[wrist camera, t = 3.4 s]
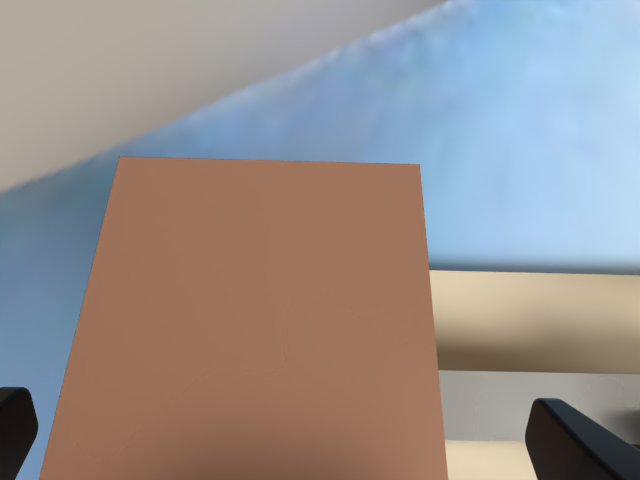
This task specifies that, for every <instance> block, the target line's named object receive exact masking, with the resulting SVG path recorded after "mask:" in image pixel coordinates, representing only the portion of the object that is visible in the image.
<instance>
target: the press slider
mask: <svg viewBox="0 0 640 480" xmlns="http://www.w3.org/2000/svg"><path fill="white" fill-rule="evenodd" d="M537 398H558V399H561V400H563V401H564V402H566V403H568V404H569V405H571V406H572V407H574V408H575V409H577V410H578V411H580V412H581V413H583V414H584V415H586V416H588V417H589V418H591V419H592V420H594V421H595V422H597V423H598V424H600V425H601V426H603V427H605V428H606V429H608V430H609V431H611V432H612V433H614V434H615V435H617V436H618V437H620V438H621V439H623V440H625V441H626V442H628V443H629V444H631V445H632V446H634V447H635V448H637V449H638V450H640V375H636V374H589V373H541V372H494V371H446V370H438V361H437V350H436V339H435V328H434V317H433V306H432V295H431V284H430V273H429V262H428V251H427V240H426V229H425V218H424V207H423V196H422V185H421V174H420V164H391V163H353V162H314V161H275V160H236V159H198V158H159V157H120V156H119V159H118V163H117V167H116V171H115V175H114V179H113V183H112V187H111V191H110V195H109V199H108V203H107V207H106V211H105V215H104V220H103V224H102V228H101V232H100V236H99V240H98V244H97V248H96V252H95V256H94V260H93V264H92V268H91V272H90V276H89V280H88V284H87V288H86V292H85V296H84V300H83V304H82V308H81V312H80V316H79V320H78V324H77V328H76V332H75V336H74V340H73V344H72V348H71V352H70V356H69V360H68V364H67V368H66V372H65V376H64V380H63V384H62V388H61V392H60V396H59V400H58V404H57V408H56V412H55V416H54V420H53V424H52V428H51V432H50V436H49V440H48V444H47V448H46V452H45V456H44V460H43V464H42V468H41V473H40V477H39V480H448V470H447V459H446V448H445V441H485V442H525V431H526V427H527V423H528V419H529V415H530V411H531V407H532V403H533V401H534V400H535V399H537Z"/></svg>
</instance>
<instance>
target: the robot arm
mask: <svg viewBox="0 0 640 480" xmlns="http://www.w3.org/2000/svg"><path fill="white" fill-rule="evenodd" d="M37 432H38V421H37V417H36V413H35V409H34V405H33V401H32V397H31V394H30V392H29V390H28V389H27V388H24V387H1V388H0V480H15V478H16V476H17V474H18V472H19V470H20V468H21V466H22V464H23V462H24V460H25V458H26V456H27V454H28V452H29V450H30V448H31V446H32V444H33V442H34V440H35V438H36V435H37ZM525 443H526V448H527V451H528V454H529V457H530V460H531V463H532V465H533V468H534V471H535V474H536V477H537V480H640V450H638V449H637V448H635V447H634V446H632V445H631V444H629V443H628V442H626V441H625V440H623V439H621V438H620V437H618V436H617V435H615V434H614V433H612V432H611V431H609V430H608V429H606V428H605V427H603V426H601V425H600V424H598V423H597V422H595V421H594V420H592V419H591V418H589V417H588V416H586V415H584V414H583V413H581V412H580V411H578V410H577V409H575V408H574V407H572V406H571V405H569V404H568V403H566V402H564V401H563V400H561V399H558V398H537V399H535V400H534V401H533V403H532V407H531V411H530V415H529V419H528V423H527V427H526V431H525Z"/></svg>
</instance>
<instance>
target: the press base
mask: <svg viewBox="0 0 640 480" xmlns="http://www.w3.org/2000/svg"><path fill="white" fill-rule="evenodd" d="M429 273H430V284H431V295H432V306H433V317H434V328H435V339H436V350H437V361H438V370H446V371H494V372H541V373H589V374H636V375H640V275H607V274H565V273H522V272H479V271H436V270H429ZM445 448H446V459H447V470H448V480H537V477H536V474H535V471H534V468H533V465H532V463H531V460H530V457H529V454H528V451H527V448H526V443H525V442H485V441H445Z"/></svg>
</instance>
